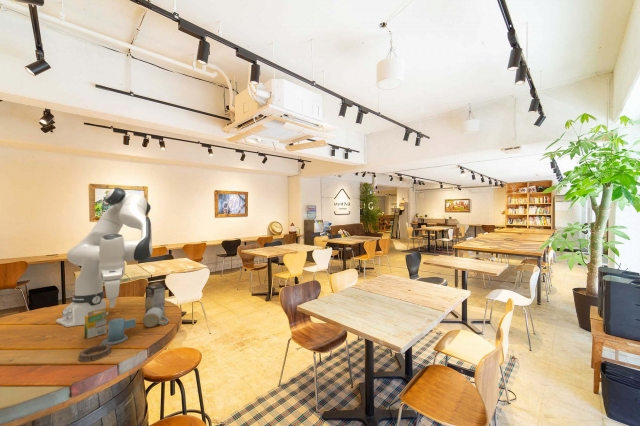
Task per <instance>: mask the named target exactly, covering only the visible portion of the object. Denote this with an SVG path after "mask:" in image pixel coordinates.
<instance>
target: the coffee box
mask: <svg viewBox="0 0 640 426" xmlns="http://www.w3.org/2000/svg"><path fill="white" fill-rule="evenodd" d="M144 304H145V307H144V311H145V313H144V316H145V315H146V313H147V311H148V310H149V309H151V308H155V307H157V308H160V309H161V310H162V311H163V316H164V317H166V316H165V314H166V313H165V309H166V307H165V306H166V286H164V285H161V284H158V283H157V284H153V285H152V284H151V285H146V286H145V302H144Z"/></svg>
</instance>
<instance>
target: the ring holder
mask: <svg viewBox="0 0 640 426" xmlns="http://www.w3.org/2000/svg"><path fill="white" fill-rule="evenodd" d="M111 353H112V345H108V344H97V345H93V346H89V347H86V348H84V349H83V350H81V351H80V352H79V353H78V361H79V362H83V363H86V362H93V361H97V360H100V359H104V358H105V357H108V356H109V355H110V354H111Z"/></svg>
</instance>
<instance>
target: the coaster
mask: <svg viewBox="0 0 640 426" xmlns="http://www.w3.org/2000/svg"><path fill="white" fill-rule="evenodd" d="M128 337H129V336H128V335H126V334H124V338H123V339H121V340H119V341H115V342H109V341H108V337H106V338H105V339H102V341H101V343H100V345H102V344H108V345H111V346H115V345H118V344H122V343H123V342H125V341H127V340H128Z"/></svg>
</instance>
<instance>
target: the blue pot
mask: <svg viewBox="0 0 640 426" xmlns="http://www.w3.org/2000/svg"><path fill="white" fill-rule="evenodd" d="M136 322H137V320H136V318H130V319H126V320H125V318H124V317H118V318H117V317H116V318H113V319H110V320H108V321H107V338H108V341H109V342H115V341H119V340H121V339H123V338H124V335H125V330H127V329H131V328H136Z"/></svg>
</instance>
